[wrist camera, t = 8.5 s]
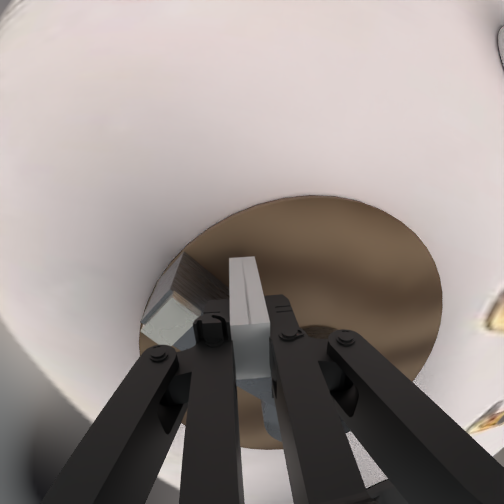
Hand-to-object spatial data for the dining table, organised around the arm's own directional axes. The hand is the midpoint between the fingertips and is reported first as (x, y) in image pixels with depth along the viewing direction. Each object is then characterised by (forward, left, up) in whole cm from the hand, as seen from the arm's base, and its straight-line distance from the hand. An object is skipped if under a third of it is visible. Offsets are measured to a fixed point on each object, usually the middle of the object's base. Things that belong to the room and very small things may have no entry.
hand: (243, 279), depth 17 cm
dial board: (-9, -5, -3) cm, 10 cm away
